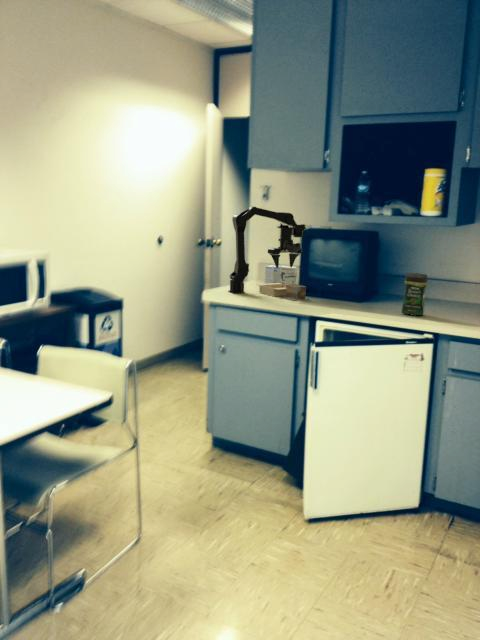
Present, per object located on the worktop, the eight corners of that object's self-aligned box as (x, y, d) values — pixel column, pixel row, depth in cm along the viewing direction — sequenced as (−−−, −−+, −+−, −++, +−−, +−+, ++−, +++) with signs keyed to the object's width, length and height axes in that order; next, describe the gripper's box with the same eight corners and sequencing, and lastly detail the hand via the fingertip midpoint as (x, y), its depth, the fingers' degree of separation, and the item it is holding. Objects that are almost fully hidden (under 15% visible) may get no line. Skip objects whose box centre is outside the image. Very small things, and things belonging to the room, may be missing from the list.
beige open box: (277, 297, 309) (277, 289, 308) (255, 291, 324) (256, 284, 323) (300, 295, 317) (300, 287, 317) (278, 290, 332) (279, 282, 331)
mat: (293, 300, 301) (293, 299, 301) (281, 297, 308) (282, 296, 308) (309, 299, 307) (309, 298, 307) (297, 296, 314) (297, 295, 314)
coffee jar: (399, 314, 276) (403, 273, 272) (403, 312, 283) (407, 271, 279) (421, 317, 271) (426, 275, 268) (425, 314, 278) (429, 273, 275)
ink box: (278, 287, 341) (280, 266, 339) (280, 286, 346) (282, 265, 343) (294, 289, 339) (295, 267, 336) (296, 287, 343) (297, 266, 341)
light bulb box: (276, 283, 359) (277, 264, 357) (285, 284, 355) (286, 265, 353) (263, 284, 352) (264, 265, 350) (272, 286, 347) (273, 266, 345)
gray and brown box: (297, 299, 303) (297, 287, 301) (285, 296, 310) (286, 284, 309) (305, 298, 305) (305, 286, 304) (293, 296, 313) (294, 284, 311)
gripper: (281, 238, 309) (279, 269, 312) (309, 238, 320) (308, 268, 323) (267, 236, 318) (266, 267, 321) (296, 236, 329) (294, 266, 332)
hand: (284, 267), depth 324 cm, fingers open, 9 cm apart
